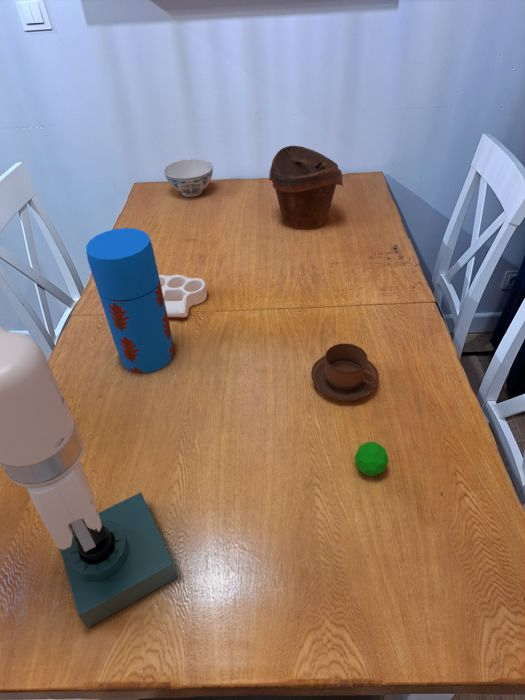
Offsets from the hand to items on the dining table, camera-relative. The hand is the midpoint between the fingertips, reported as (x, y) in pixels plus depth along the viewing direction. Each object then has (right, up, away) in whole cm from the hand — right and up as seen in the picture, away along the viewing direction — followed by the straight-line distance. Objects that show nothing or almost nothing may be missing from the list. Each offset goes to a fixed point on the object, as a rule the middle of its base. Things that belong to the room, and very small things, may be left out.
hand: (93, 538), depth 60 cm
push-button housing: (+2, -6, +6) cm, 8 cm away
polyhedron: (+37, +5, +15) cm, 41 cm away
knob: (0, -2, +2) cm, 3 cm away
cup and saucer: (+36, +17, +30) cm, 49 cm away
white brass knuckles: (-1, +34, +51) cm, 61 cm away
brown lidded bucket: (+33, +60, +78) cm, 103 cm away
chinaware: (-2, +73, +95) cm, 120 cm away
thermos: (-2, +22, +38) cm, 44 cm away
